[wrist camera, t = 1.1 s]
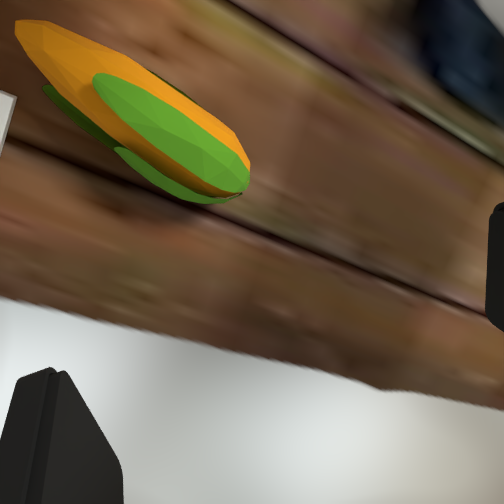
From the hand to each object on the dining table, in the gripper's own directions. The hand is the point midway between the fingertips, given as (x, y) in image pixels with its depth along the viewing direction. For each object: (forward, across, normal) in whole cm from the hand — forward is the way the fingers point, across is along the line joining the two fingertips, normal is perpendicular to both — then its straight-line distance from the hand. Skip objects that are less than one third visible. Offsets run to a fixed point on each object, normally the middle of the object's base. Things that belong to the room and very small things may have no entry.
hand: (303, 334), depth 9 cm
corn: (+32, +1, -1) cm, 32 cm away
